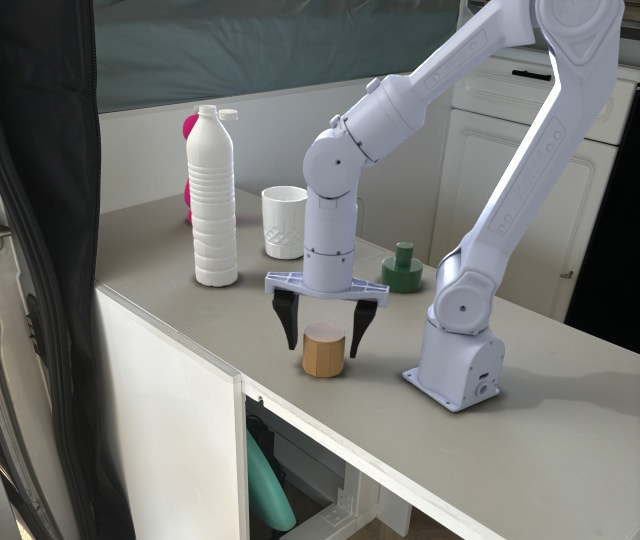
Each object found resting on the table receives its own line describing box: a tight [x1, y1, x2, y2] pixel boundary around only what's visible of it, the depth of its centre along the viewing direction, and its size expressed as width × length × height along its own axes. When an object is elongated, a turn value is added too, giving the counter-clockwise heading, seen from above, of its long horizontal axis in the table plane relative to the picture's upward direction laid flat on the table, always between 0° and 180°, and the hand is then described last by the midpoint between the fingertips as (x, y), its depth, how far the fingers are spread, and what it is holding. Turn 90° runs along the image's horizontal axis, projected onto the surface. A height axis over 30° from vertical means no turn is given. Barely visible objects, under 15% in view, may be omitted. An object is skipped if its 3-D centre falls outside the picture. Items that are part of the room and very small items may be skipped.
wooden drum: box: [301, 322, 347, 379], centre depth 82 cm, size 5×5×5 cm
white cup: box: [261, 185, 307, 260], centre depth 110 cm, size 8×8×10 cm
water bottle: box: [185, 104, 239, 288], centre depth 95 cm, size 9×6×25 cm
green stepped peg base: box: [379, 241, 424, 294], centre depth 102 cm, size 6×6×6 cm
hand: (323, 350), depth 82 cm, fingers open, 7 cm apart
